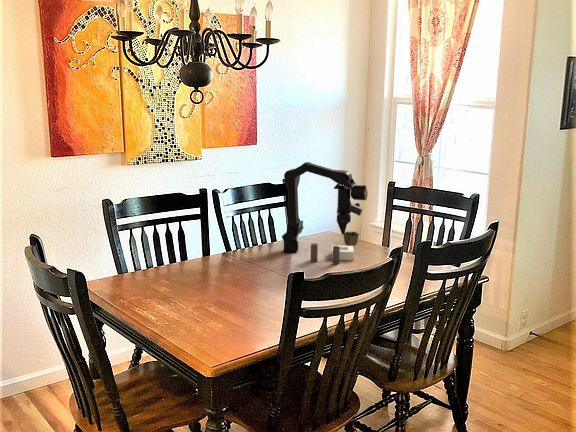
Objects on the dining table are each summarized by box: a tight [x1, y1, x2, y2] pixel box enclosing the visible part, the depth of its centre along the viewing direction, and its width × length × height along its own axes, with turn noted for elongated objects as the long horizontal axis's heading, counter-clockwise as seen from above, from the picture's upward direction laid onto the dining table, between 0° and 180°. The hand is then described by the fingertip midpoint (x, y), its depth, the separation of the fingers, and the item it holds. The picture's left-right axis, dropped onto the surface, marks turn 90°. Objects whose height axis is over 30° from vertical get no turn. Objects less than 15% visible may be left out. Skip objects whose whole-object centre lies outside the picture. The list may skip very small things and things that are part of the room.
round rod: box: [332, 245, 341, 266], centre depth 264 cm, size 3×3×8 cm
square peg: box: [310, 242, 319, 263], centre depth 268 cm, size 3×3×8 cm
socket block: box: [331, 244, 355, 261], centre depth 275 cm, size 10×10×4 cm
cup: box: [343, 231, 360, 249], centre depth 288 cm, size 8×7×8 cm
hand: (343, 231), depth 273 cm, fingers open, 9 cm apart
